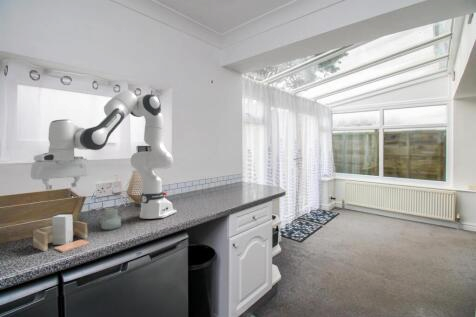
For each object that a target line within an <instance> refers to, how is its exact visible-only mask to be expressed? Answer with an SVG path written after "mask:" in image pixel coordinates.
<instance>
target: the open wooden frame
mask: <svg viewBox="0 0 476 317" xmlns="http://www.w3.org/2000/svg"><path fill="white" fill-rule="evenodd" d="M74 236H76V237H79V238H82V239H83V240H84V239H85V240H86V239H88V223H87V222H83V221H78V220H76V219H75V220H73V237H74ZM32 237H33V238H32V243H33V245H32V246H33V248H34V249H35V248H36V249H37V250H40V251H42V252H47V251H48V248H49V246H48V244H51V243H53V231H52V225H50V226H46V227H41V228H38V229H34V230H33V229H32Z"/></svg>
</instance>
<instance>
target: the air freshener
mask: <svg viewBox="0 0 476 317" xmlns="http://www.w3.org/2000/svg"><path fill="white" fill-rule="evenodd" d="M121 226H122V217H121V216H119V210H118V208H114V207H113V208H107V209H105V210H104V218H102V220H101V229H102V230H105V231H110V230H111V231H113V230H115V229H119V228H120V227H121Z"/></svg>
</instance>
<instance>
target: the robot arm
mask: <svg viewBox="0 0 476 317" xmlns="http://www.w3.org/2000/svg"><path fill="white" fill-rule="evenodd" d="M161 104H162V103H161V101H160V99H159V97H158V96H157V95H155V94H152V93H151V94H150V93H149V94H145V95H141V96H136V95H135V93H133V92H132V91H130V90H123V91H122V92H119V93H118V94H116V95H114V96H113V97H112V98H111V99H109V101H107V103H106V104H105V105H104V107H103V112H104V114H105V116H106V117H105V118H104V119H103V120H102V121H100V123H99V124H98V125H95V126H93V127H89V128H84V127H81V126H79V125H78V124H76V123H75V122H73V120H72V119H57V120H52V121H51V122H50V123H49V126H48V136H47V137H48V139H47V140H48V141H49V146H48V152H45V153H41V154H36V155H34V156H33V160H34V162H33V163H32V164H31V167H30V168H31V169H30V178H31V179H32V180H41V181H42V183H43V184H44V186H45V190H47V191H51V190H53V188H52V187H53V185H52V184H49V183H48V182H49V180H50V179H61V178H62V179H63V178H66V179H67V178H73V179H74V180H73V182H71V188H77V187H78V182H79V181H80V179H81V177H87V176H88V175H89V168H88V159H87V157H84V156H75V149H77V150H85V151H86V150H90V151H91V150H92V151H99V150H101V149H103V148H104V147H105V146H106V145H107V143H108V140H109V137H110V136H111V134H113V132H115V130H116V129H117V128H118V126H119V125H120V124H121V123H122V122H123V120H125V118H126V117H128V116H129V114H130V115H131V116H133V117H136V118H141V117H144V122H145V124H144V133H143V134H144V135H143V141H144V142H145V143H146V145H148V146H150V148H151V151H138V152H134V153H133V154H132V155H131V157H130V166H132V168H134V169H135V170H136V172H138V175H139V176H140V179H141V186H142V187H141V188H142V189H141V190H142V193H141V208H140V214H139V218H140V219H164V218H167V217H169V216H170V215H173V214H176V213H177V209H174V208H173V203H172V202H171V201H170V200H168V199H167V198H166V197H165V196H167V195H168V192H166V191H164V192H163V189H162V188H163V181H162V180H163V179H162V178H161V177H160V176H158V175H156V173H155V170H159V171H161V170H163V171H164V170H167V169H170V168H172V166H173V164H174V157H173V155H172V153H170V152H169V151H168V150H167V148H166V146H165V143H164V141H165V140H164V137H165V136H164V132H165V120H164V116H163V114H162V113H161V111H162V109H161V107H162V106H161Z"/></svg>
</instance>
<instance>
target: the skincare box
mask: <svg viewBox="0 0 476 317" xmlns="http://www.w3.org/2000/svg"><path fill="white" fill-rule="evenodd" d="M73 221H74V220H73V214H57V215H54V216H51V224H52V225H51V226H52V231H53V242H52V245H59V246H61V245H64V244H68V243H71V242H74V236H73Z"/></svg>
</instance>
